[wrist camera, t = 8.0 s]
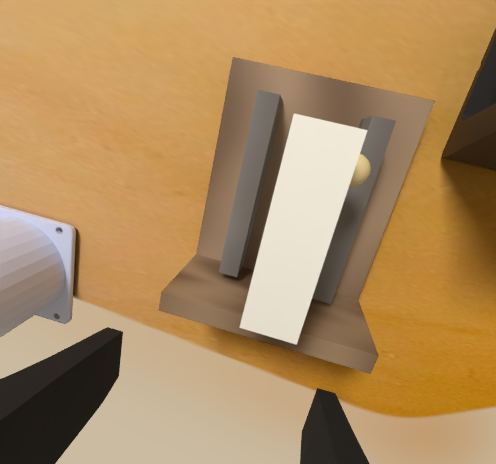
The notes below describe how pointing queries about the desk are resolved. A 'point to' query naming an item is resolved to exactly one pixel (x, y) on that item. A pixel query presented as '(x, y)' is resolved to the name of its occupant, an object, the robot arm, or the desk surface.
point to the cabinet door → (302, 223)
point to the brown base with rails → (260, 196)
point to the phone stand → (477, 118)
